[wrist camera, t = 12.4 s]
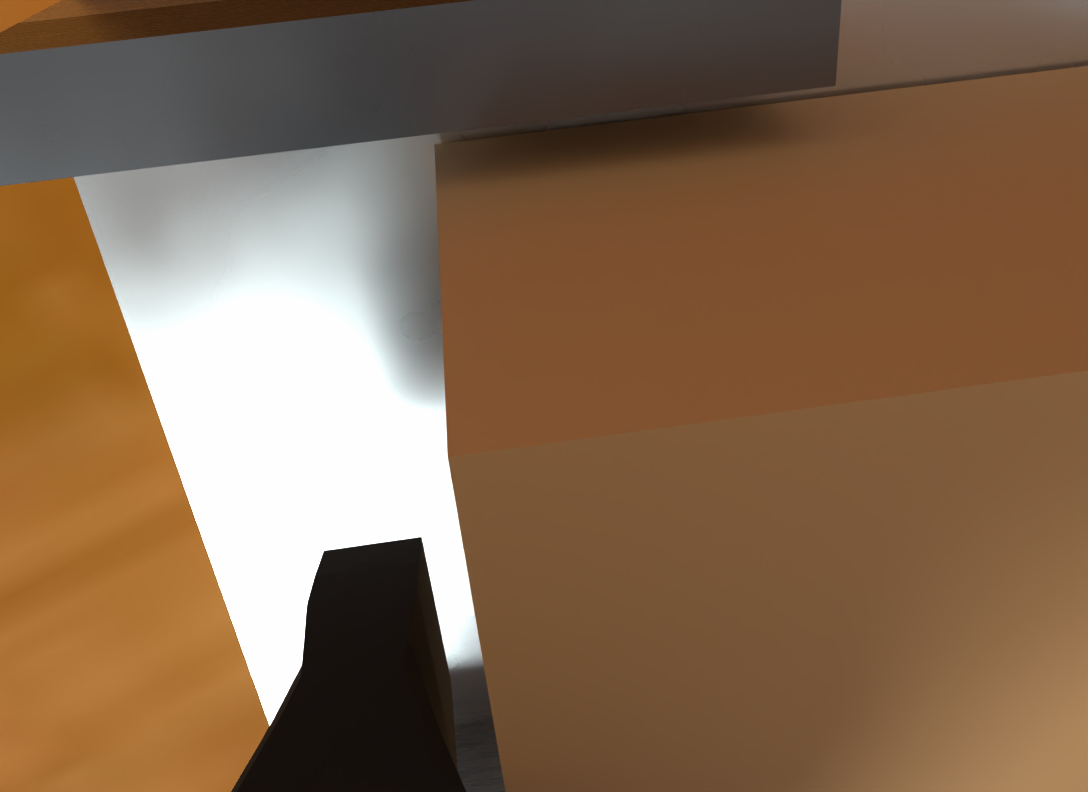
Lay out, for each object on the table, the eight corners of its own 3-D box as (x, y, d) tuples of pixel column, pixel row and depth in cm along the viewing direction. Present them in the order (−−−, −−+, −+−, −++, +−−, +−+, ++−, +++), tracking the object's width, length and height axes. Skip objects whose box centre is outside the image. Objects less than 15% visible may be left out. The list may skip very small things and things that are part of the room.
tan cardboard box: (1060, 616, 14) (1368, 1006, 9) (517, 697, 14) (566, 1143, 9) (1211, 50, 10) (1899, 259, 5) (434, 143, 9) (447, 456, 5)
